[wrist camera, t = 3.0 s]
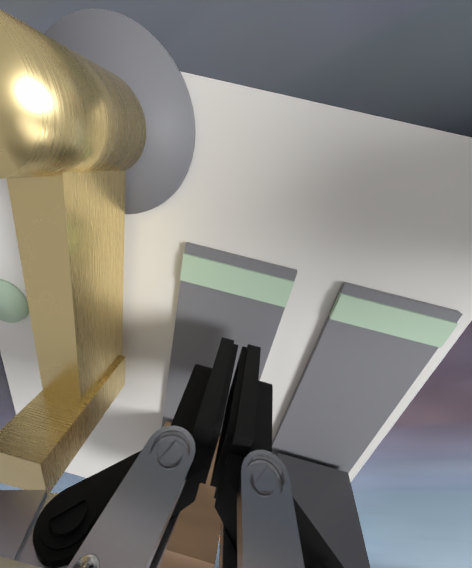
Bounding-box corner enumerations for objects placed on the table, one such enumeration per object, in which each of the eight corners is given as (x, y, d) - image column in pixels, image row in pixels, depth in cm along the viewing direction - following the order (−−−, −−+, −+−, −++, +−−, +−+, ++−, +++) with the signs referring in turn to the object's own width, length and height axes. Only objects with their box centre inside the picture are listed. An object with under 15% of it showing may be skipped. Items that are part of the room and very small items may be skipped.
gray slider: (322, 508, 16) (340, 643, 11) (259, 490, 16) (253, 616, 12) (348, 472, 14) (381, 614, 10) (277, 452, 14) (277, 583, 10)
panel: (303, 510, 21) (306, 549, 19) (48, 436, 22) (23, 465, 20) (549, 133, 9) (634, 123, 7) (-28, 4, 10) (-113, -40, 8)
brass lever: (133, 387, 14) (60, 500, 9) (81, 372, 14) (-18, 477, 9) (149, 80, 8) (-36, -44, 3) (57, 58, 8) (-249, -90, 3)
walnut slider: (221, 479, 16) (199, 599, 12) (160, 461, 16) (116, 574, 12) (234, 440, 14) (214, 564, 10) (166, 421, 15) (116, 534, 10)
